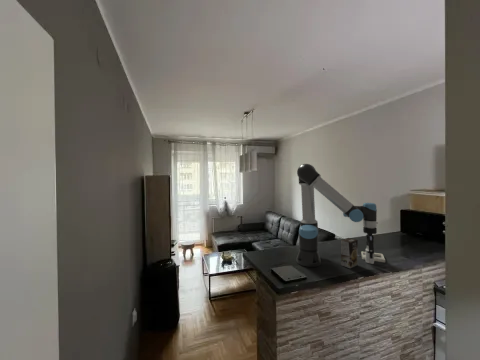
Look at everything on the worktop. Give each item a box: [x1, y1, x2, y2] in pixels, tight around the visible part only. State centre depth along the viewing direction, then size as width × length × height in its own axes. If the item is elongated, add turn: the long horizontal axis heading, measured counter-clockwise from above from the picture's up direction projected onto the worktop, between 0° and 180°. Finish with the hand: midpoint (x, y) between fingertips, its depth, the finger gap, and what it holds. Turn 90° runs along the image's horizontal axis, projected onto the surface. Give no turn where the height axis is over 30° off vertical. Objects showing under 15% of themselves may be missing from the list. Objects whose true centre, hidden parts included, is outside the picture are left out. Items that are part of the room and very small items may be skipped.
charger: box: [365, 247, 374, 265], centre depth 144 cm, size 4×4×8 cm
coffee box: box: [340, 237, 359, 269], centre depth 139 cm, size 9×6×16 cm
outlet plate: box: [360, 251, 386, 263], centre depth 151 cm, size 13×12×2 cm
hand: (370, 259), depth 144 cm, fingers open, 13 cm apart
